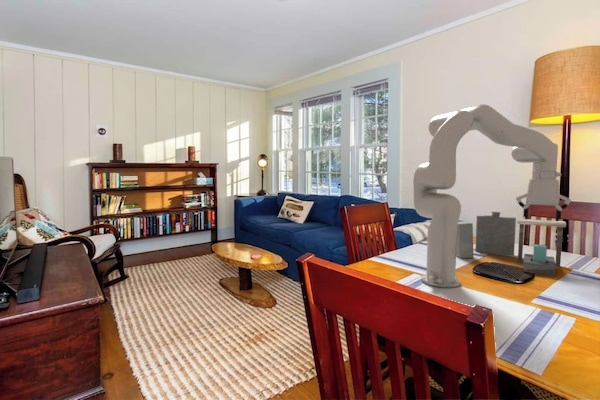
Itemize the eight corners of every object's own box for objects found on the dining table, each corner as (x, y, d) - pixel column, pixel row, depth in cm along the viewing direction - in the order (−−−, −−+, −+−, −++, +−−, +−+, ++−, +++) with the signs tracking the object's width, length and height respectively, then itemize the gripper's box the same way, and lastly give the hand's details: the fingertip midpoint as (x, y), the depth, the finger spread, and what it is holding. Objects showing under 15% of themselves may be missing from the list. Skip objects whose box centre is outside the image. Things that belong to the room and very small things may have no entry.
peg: (544, 270, 134) (546, 245, 133) (545, 272, 130) (546, 247, 129) (532, 268, 136) (533, 244, 135) (532, 271, 132) (534, 246, 132)
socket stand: (565, 278, 124) (568, 228, 122) (513, 271, 133) (516, 224, 131) (562, 266, 139) (564, 221, 137) (515, 260, 148) (518, 218, 146)
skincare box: (473, 258, 152) (475, 223, 150) (457, 258, 152) (459, 223, 150) (465, 253, 160) (466, 220, 159) (449, 253, 160) (451, 220, 159)
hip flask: (513, 254, 158) (516, 212, 156) (514, 256, 154) (516, 213, 152) (475, 250, 166) (477, 210, 164) (475, 252, 162) (476, 211, 160)
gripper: (571, 175, 128) (568, 220, 129) (517, 175, 138) (515, 217, 139) (573, 176, 122) (570, 223, 123) (516, 175, 131) (514, 219, 133)
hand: (541, 219), depth 131 cm, fingers open, 9 cm apart
